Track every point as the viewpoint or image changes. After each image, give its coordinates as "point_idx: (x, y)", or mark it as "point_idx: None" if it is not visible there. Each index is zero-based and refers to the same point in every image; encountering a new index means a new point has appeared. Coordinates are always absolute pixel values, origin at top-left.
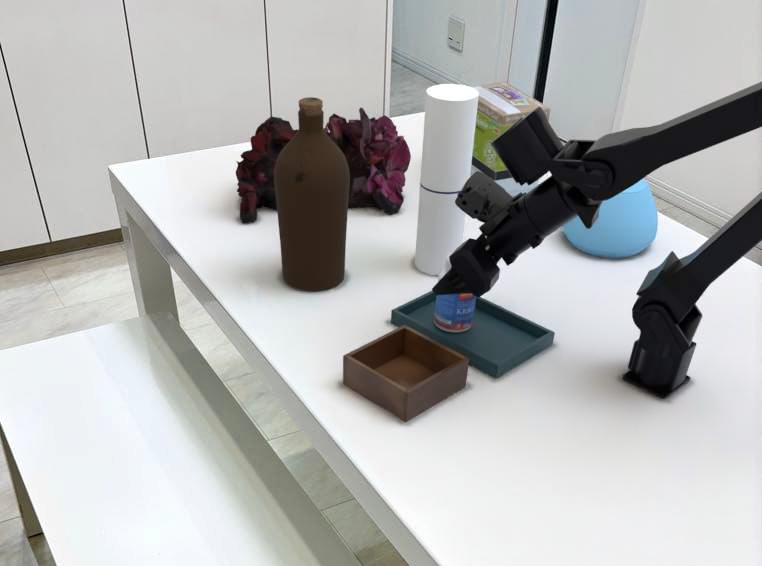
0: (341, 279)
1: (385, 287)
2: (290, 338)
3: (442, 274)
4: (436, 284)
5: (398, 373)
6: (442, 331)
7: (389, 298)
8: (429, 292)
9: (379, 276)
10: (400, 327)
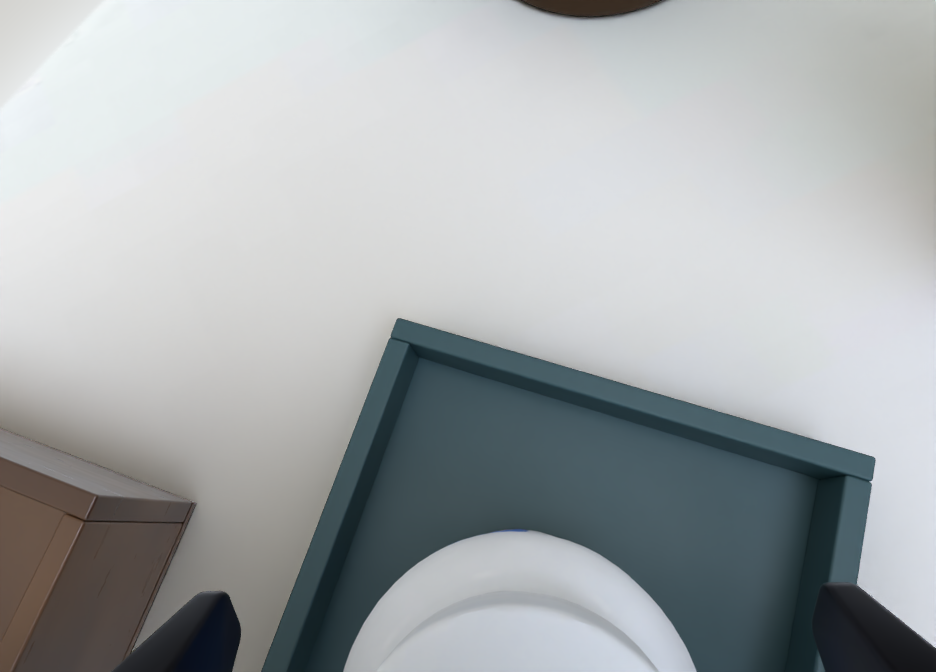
0: (610, 4)
1: (697, 173)
2: (143, 84)
3: (422, 593)
4: (135, 653)
5: (9, 568)
6: None
7: (613, 234)
8: (680, 408)
9: (774, 106)
10: (59, 488)
